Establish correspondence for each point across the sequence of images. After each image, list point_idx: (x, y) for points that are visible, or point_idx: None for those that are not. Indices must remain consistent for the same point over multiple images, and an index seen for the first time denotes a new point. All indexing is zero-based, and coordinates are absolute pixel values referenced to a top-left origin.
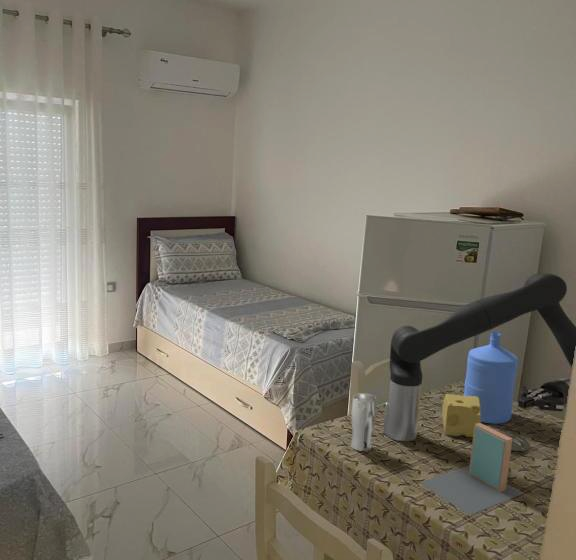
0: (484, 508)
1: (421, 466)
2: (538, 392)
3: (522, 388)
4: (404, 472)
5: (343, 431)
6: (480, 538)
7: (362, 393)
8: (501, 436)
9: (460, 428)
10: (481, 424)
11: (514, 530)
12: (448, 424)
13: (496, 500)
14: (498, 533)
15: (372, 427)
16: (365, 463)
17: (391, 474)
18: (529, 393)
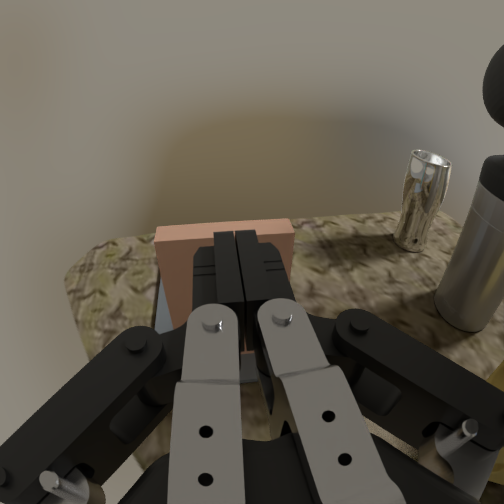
0: (161, 284)
1: (336, 282)
2: (307, 441)
3: (481, 380)
4: (320, 253)
5: (455, 243)
6: (125, 248)
7: (449, 162)
8: (183, 228)
9: None
10: (280, 229)
11: (101, 290)
12: (490, 381)
13: (165, 315)
14: (114, 270)
15: (410, 209)
16: (356, 227)
17: (318, 238)
18: (435, 463)
